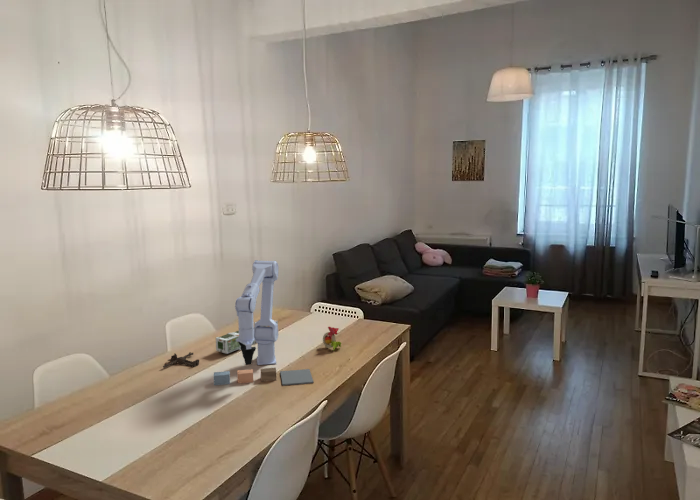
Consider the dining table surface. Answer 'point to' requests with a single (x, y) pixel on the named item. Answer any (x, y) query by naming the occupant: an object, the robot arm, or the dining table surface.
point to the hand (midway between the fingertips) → (247, 361)
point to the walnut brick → (268, 374)
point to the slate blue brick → (221, 378)
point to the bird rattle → (331, 338)
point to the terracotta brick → (245, 376)
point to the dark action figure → (182, 361)
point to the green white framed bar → (230, 342)
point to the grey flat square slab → (296, 377)
